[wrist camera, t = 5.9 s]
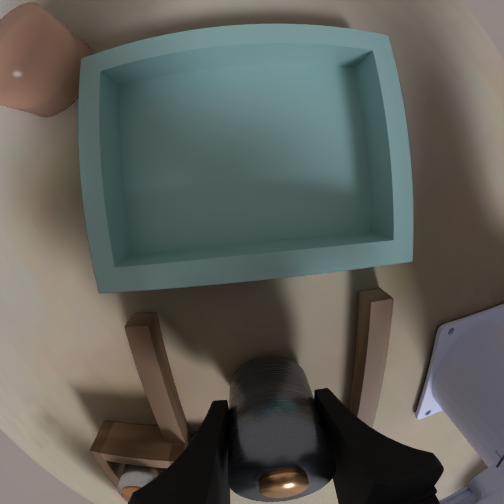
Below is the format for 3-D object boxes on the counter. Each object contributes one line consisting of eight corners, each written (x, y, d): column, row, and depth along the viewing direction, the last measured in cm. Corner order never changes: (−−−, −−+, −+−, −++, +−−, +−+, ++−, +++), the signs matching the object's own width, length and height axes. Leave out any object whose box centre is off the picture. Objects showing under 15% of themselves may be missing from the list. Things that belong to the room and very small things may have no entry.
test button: (170, 456, 14) (163, 491, 11) (184, 484, 15) (180, 515, 12) (118, 451, 14) (107, 482, 11) (136, 480, 15) (129, 508, 12)
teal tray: (366, 54, 11) (387, 35, 9) (386, 249, 13) (412, 261, 11) (104, 75, 11) (81, 58, 8) (120, 275, 13) (98, 293, 11)
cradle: (379, 287, 14) (393, 298, 12) (361, 425, 16) (368, 440, 15) (134, 313, 13) (124, 326, 12) (178, 446, 16) (175, 462, 14)
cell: (306, 351, 14) (345, 448, 7) (306, 408, 14) (333, 499, 8) (224, 360, 13) (219, 464, 7) (234, 416, 14) (235, 512, 8)
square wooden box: (188, 426, 15) (182, 461, 12) (206, 475, 17) (204, 505, 14) (104, 420, 15) (89, 450, 12) (132, 470, 16) (124, 497, 14)
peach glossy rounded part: (96, 29, 10) (53, -14, 5) (91, 102, 11) (32, 72, 6) (32, 58, 10) (-19, 32, 5) (25, 127, 11) (-37, 116, 6)
